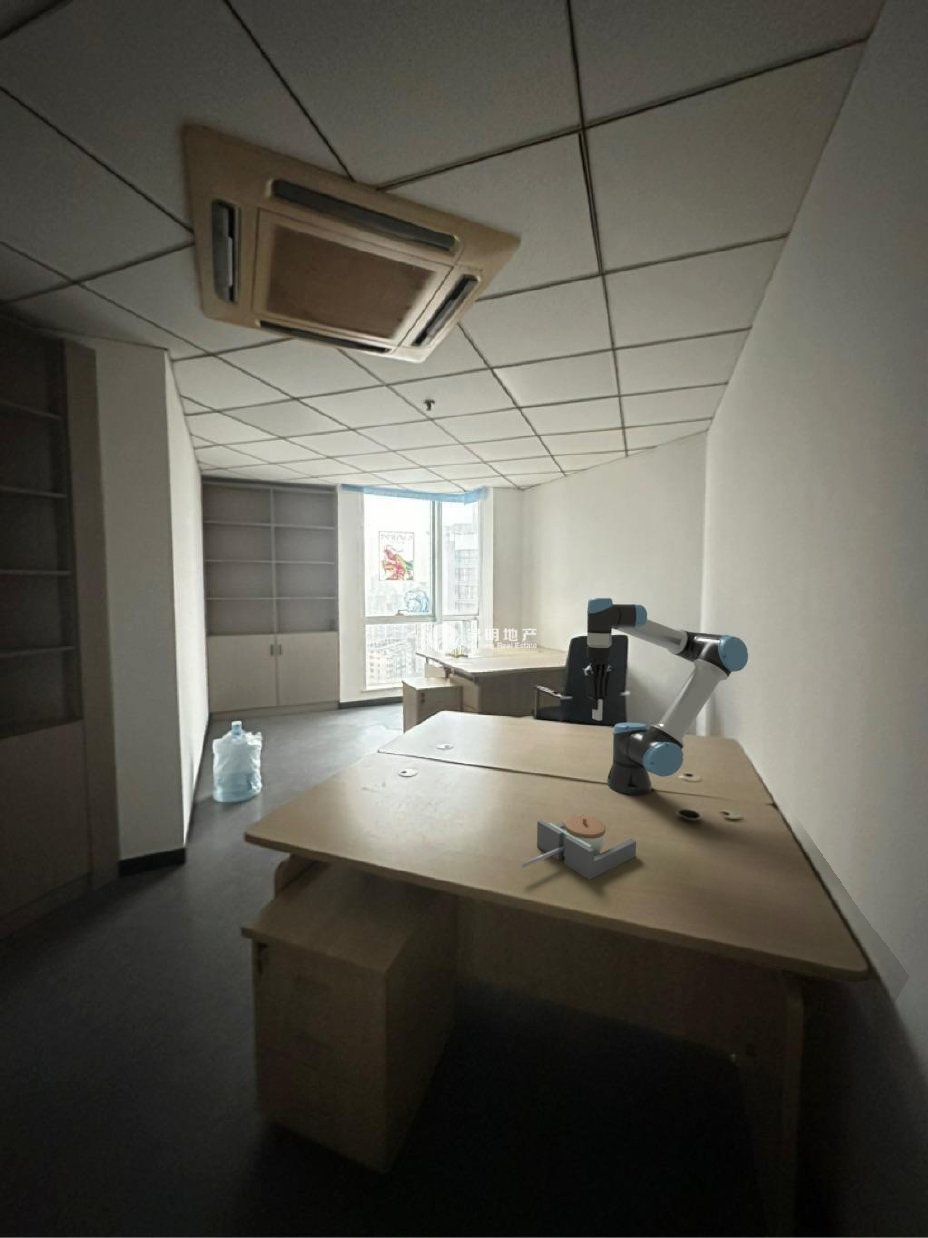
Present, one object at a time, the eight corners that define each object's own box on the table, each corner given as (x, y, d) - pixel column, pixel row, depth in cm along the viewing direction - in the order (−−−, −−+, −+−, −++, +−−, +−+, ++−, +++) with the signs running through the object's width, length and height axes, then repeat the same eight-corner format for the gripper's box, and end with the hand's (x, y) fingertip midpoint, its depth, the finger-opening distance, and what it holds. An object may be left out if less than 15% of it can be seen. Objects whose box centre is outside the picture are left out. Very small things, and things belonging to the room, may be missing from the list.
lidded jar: (608, 848, 124) (609, 814, 124) (599, 868, 115) (600, 832, 114) (569, 838, 129) (570, 805, 129) (558, 856, 120) (559, 821, 119)
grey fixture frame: (582, 827, 135) (583, 804, 135) (635, 856, 120) (636, 830, 120) (537, 846, 125) (537, 821, 124) (589, 879, 110) (589, 851, 109)
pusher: (550, 844, 125) (550, 822, 124) (591, 869, 113) (591, 845, 113) (503, 863, 115) (503, 840, 115) (542, 893, 104) (543, 867, 103)
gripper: (602, 644, 152) (600, 714, 153) (575, 646, 145) (574, 719, 146) (621, 646, 146) (619, 719, 147) (594, 648, 138) (593, 725, 139)
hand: (597, 719), depth 146 cm, fingers closed
